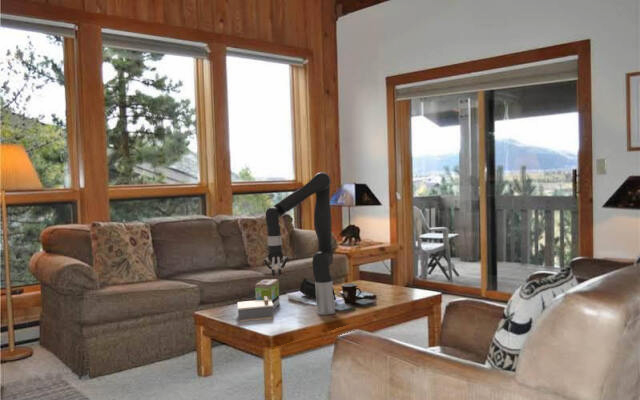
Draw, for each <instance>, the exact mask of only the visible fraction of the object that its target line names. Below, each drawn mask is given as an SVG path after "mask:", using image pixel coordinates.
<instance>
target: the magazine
mask: <svg viewBox="0 0 640 400" xmlns="http://www.w3.org/2000/svg"><path fill="white" fill-rule="evenodd" d="M299 292H300V293H301V294H303V295H304V296H305V295H306V296H305V297H308V296H309V297H308V298H310V297H313V298H316V288H315V281H314V282H313V281H311V280H309V279H308V278H307V277H305V278H303V279H302V282H301V284H300V286H299ZM333 295H334V302H335V301H336V300H337V298H336V295H335V290H334V288H333ZM313 298H312V299H313Z"/></svg>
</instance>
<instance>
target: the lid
mask: <svg viewBox="0 0 640 400" xmlns="http://www.w3.org/2000/svg"><path fill="white" fill-rule="evenodd" d="M264 307H273V303H272V300H271V299H268V298H267V296H264V300H256V299H255V300H246V301H238V302H237V310H243V309H254V308H264Z"/></svg>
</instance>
